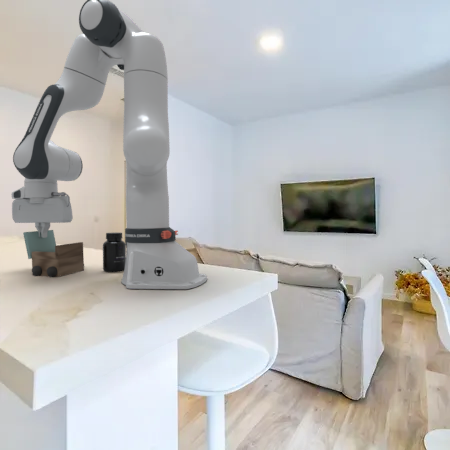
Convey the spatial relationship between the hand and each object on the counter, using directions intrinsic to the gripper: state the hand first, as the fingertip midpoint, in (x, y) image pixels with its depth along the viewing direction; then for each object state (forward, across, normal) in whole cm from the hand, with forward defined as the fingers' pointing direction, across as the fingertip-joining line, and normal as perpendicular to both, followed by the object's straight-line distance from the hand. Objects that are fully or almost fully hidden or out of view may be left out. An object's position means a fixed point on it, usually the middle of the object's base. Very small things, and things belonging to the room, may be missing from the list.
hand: (43, 237), depth 96 cm
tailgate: (+6, 0, 0) cm, 6 cm away
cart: (+11, -6, 0) cm, 12 cm away
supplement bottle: (+11, -20, -7) cm, 24 cm away
